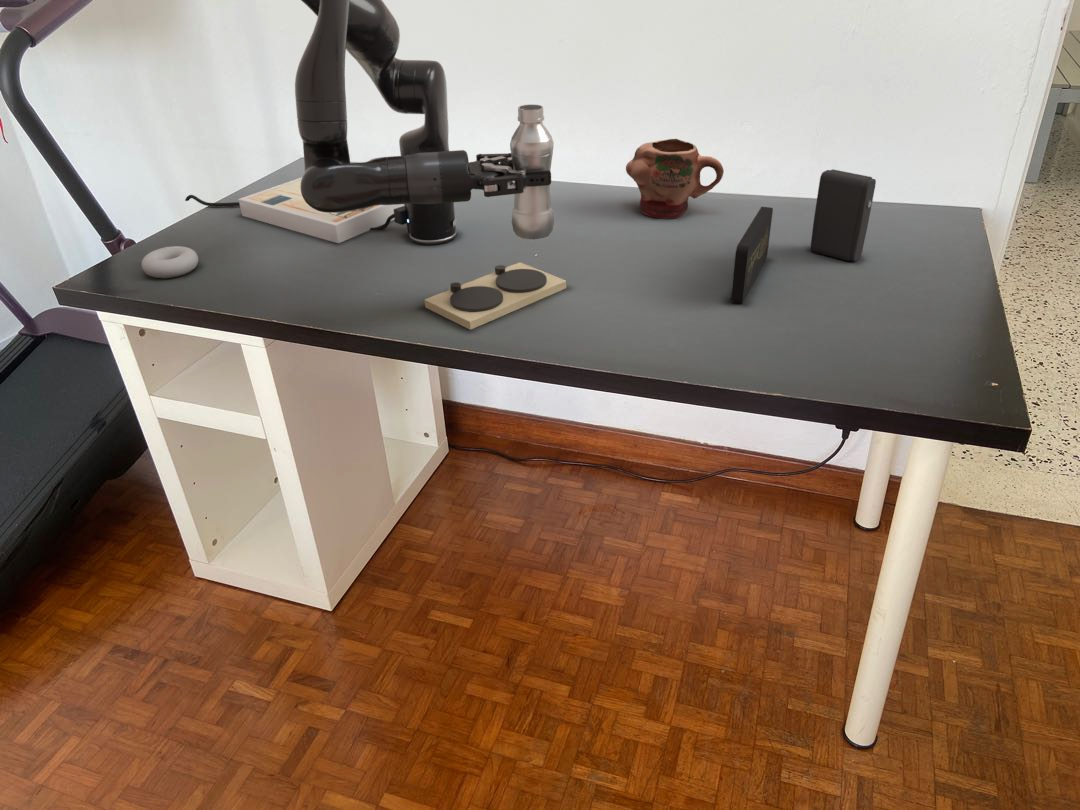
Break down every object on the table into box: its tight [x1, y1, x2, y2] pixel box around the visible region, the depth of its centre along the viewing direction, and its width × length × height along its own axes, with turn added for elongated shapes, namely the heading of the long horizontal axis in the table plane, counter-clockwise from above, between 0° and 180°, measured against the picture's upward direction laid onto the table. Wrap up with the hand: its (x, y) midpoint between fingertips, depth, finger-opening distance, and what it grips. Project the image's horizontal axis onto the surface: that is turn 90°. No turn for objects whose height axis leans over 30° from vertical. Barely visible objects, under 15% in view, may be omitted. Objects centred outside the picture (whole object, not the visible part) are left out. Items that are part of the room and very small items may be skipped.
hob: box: [424, 261, 567, 331], centre depth 143 cm, size 12×22×3 cm, turn 134°
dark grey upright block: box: [810, 168, 877, 262], centre depth 151 cm, size 9×4×15 cm, turn 47°
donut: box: [141, 245, 199, 279], centre depth 157 cm, size 10×4×10 cm
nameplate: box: [730, 206, 774, 304], centre depth 144 cm, size 21×2×10 cm, turn 156°
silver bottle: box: [509, 104, 555, 240], centre depth 129 cm, size 6×7×20 cm
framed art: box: [238, 176, 404, 244], centre depth 184 cm, size 30×4×30 cm
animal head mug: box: [625, 138, 725, 219], centre depth 173 cm, size 20×12×14 cm, turn 77°
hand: (547, 170), depth 129 cm, fingers closed on silver bottle, 6 cm apart
